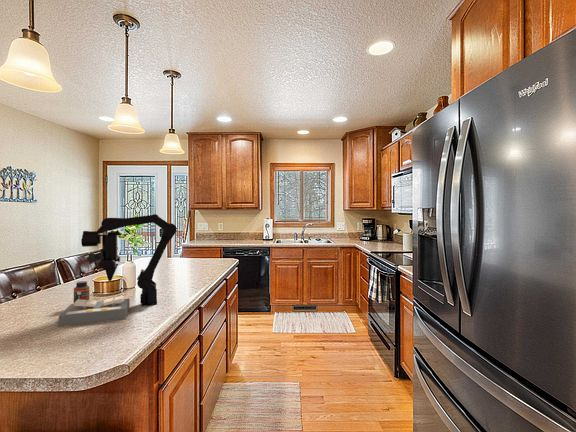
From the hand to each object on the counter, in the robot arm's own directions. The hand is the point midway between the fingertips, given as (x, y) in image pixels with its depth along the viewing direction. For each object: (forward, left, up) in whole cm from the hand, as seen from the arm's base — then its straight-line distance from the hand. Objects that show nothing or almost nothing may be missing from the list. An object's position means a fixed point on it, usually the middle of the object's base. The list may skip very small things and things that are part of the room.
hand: (109, 280), depth 136 cm
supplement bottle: (+12, -6, -12) cm, 18 cm away
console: (+3, +11, -12) cm, 17 cm away
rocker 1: (+7, +11, -6) cm, 14 cm away
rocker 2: (-3, +11, -6) cm, 13 cm away
